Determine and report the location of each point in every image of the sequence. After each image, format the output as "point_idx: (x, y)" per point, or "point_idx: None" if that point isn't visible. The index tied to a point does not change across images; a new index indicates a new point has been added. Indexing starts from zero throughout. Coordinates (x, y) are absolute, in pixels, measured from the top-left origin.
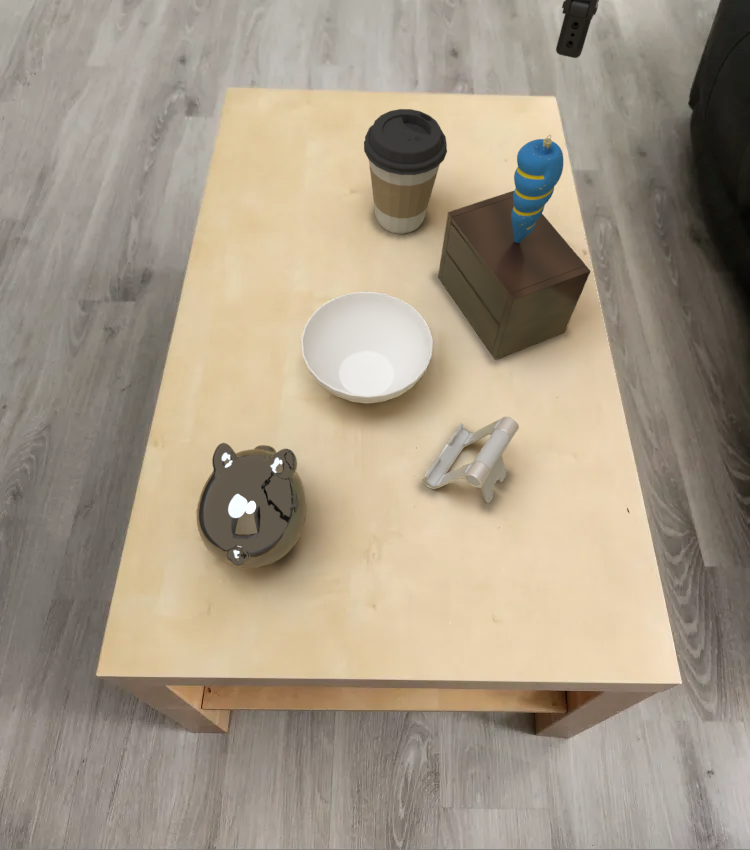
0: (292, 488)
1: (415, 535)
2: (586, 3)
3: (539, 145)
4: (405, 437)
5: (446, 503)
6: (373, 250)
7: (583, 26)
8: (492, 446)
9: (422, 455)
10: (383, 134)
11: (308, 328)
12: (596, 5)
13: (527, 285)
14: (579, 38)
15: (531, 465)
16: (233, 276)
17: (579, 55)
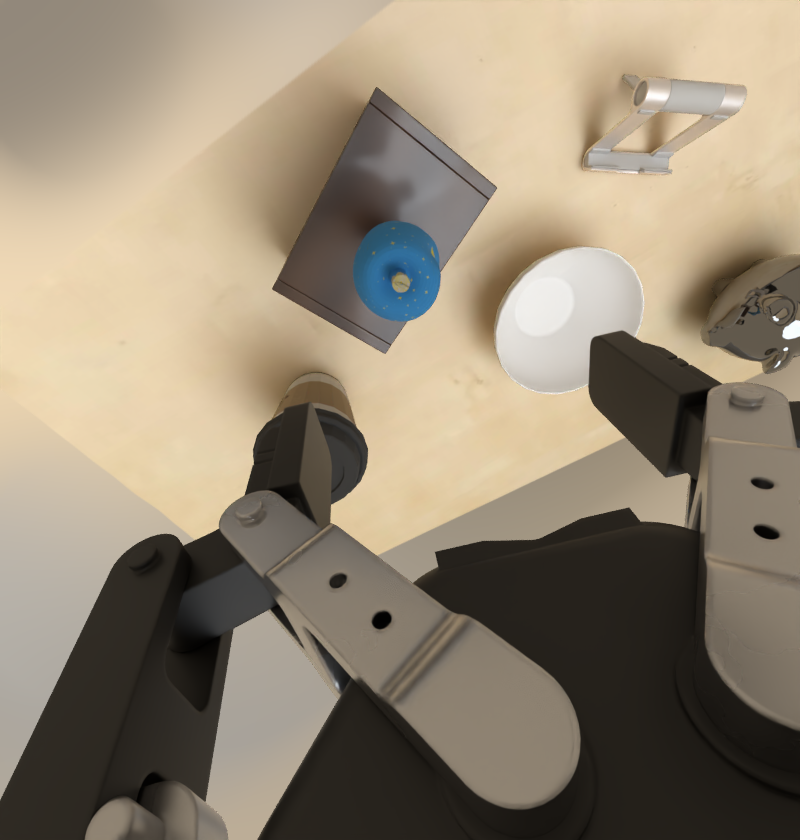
0: (793, 288)
1: (720, 146)
2: None
3: (391, 294)
4: (605, 224)
5: (675, 132)
6: (381, 393)
7: (719, 384)
8: (696, 98)
9: (622, 193)
10: (337, 487)
11: (567, 386)
12: (763, 403)
13: (461, 180)
14: (686, 366)
15: (598, 45)
16: (484, 473)
17: (619, 331)
